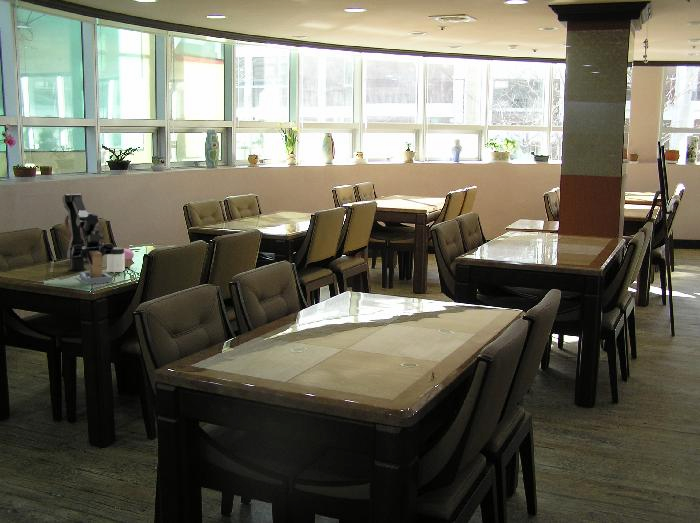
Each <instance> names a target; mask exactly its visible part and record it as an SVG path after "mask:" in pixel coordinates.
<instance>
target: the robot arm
mask: <svg viewBox="0 0 700 523" xmlns="http://www.w3.org/2000/svg"><path fill="white" fill-rule="evenodd" d="M61 200H62V201H61V202H62V204H63V207H64V208H65V210H66V212H67V213H68V214H67V215H69V219H68V223H69V227H70V230H71V238H72V240H71V239H70V240H71V242H70V241H69V243H68V248H67V252H66V257H67V259H69V260H70V265H69V266H70V268H68V269H67V270H69V271H72V272H78V271H79V272H80V271H86V270H87V268H86V267H85V261H84V259H86V260H87V261H86V262H88V263H89V265H90V264H91V265H92V260H91V257H90V254H89V252H95V251H98V252H100V253H102V258H103V257H104V256H105V255H107V254H112V251H113V248H114V247H115V246H114V244H113V243H111V242H109V243H103V244H104V246H103V247H100V246H99V247H98V245H99V244H100V243H99V241H100V240H103V241H104V239H105V236H104V234H103V232H101V233H99V234H95V233H94V231H95V230H96V227H97V224H98V225H99V218H98V219H97V217H95V216H93V214H94V213H90V212H88V211H87V209H86V207H85V204H84V201H83V195H82V194H81V193H64V195H63V196H62V197H61ZM80 228H82V230H81V232H82V236H83V239H82V238H81V233H80ZM79 255H80V256H79Z"/></svg>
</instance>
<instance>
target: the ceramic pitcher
mask: <svg viewBox="0 0 700 523" xmlns="http://www.w3.org/2000/svg"><path fill="white" fill-rule="evenodd" d="M92 214H93V216H95V217H97V219H98V220H99V215H97V214H95V213H92ZM64 226H65V229H66V232H67V234H68V236H69V239H70V241H69V243H70V242H71V240H72V238H71V230H70V222H69V214H67V215H66V216H65V218H64ZM81 230H82V228H80V233H81V238H82V239H83V236H82V232H81ZM94 233H95V234H99V233H102V232H101V229H100V227H99V223H98V224H97V227H96V230H95V231H94ZM99 243H100V244H99V245H98V247H99V246H100V247H103V246H104V244H105V243H104V239H103V240H100V241H99ZM95 252H96V251H95ZM79 256H80V255H79ZM84 262H88V261H87V260H86V259H84Z"/></svg>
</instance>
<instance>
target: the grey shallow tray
mask: <svg viewBox="0 0 700 523" xmlns="http://www.w3.org/2000/svg"><path fill="white" fill-rule="evenodd" d="M75 279H77V280H78V281H80V282H81V283H84V284H85V285H94V283H96V284H106V282H109V283H115V281H114V280H113V276H112V275H110V274H108V273H107V272H105V273H103V272H102V277H97V278H90V271H82V272H80V271H79V276H75Z"/></svg>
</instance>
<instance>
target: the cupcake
mask: <svg viewBox="0 0 700 523" xmlns="http://www.w3.org/2000/svg"><path fill="white" fill-rule="evenodd" d="M124 253H125V267H129V268H130V267H131V266H132V259H133V258H134V257H135V254H134V252H133V251H132V250H131V249H129V248H128V249H127V248H124Z"/></svg>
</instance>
